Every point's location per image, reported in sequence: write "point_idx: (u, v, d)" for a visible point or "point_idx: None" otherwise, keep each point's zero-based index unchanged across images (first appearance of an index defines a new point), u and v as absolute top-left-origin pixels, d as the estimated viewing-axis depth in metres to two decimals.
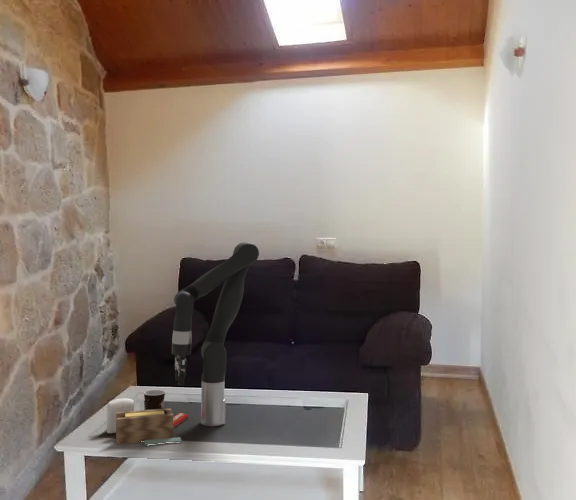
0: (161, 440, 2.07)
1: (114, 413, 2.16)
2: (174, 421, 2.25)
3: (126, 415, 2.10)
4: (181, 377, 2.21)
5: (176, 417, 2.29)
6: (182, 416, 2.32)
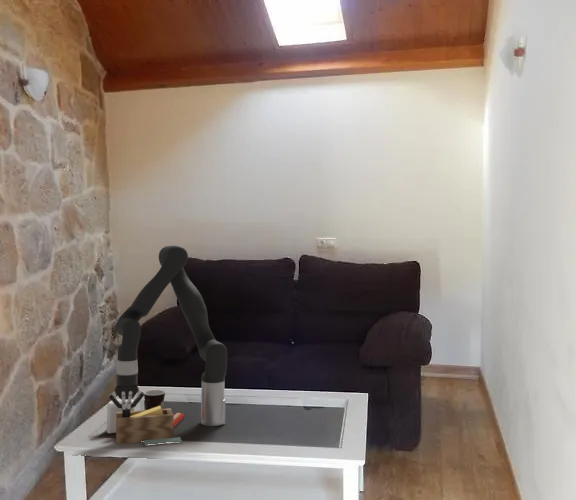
0: (161, 440, 2.07)
1: (114, 413, 2.16)
2: (174, 421, 2.25)
3: None
4: None
5: (174, 417, 2.29)
6: (180, 416, 2.32)
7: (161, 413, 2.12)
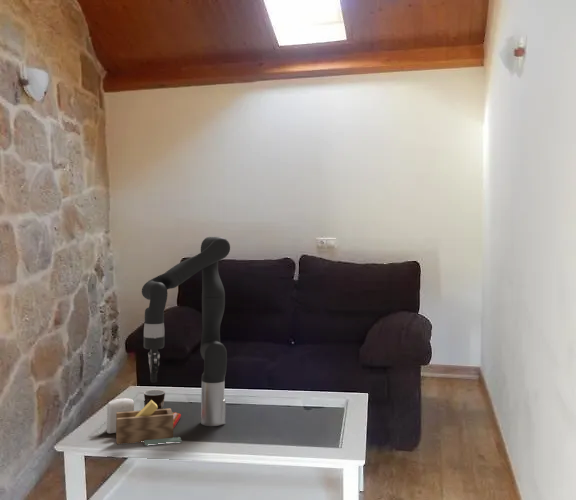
0: (161, 440, 2.07)
1: (114, 413, 2.16)
2: (174, 421, 2.25)
3: None
4: None
5: (173, 417, 2.29)
6: (177, 415, 2.32)
7: (154, 406, 2.11)
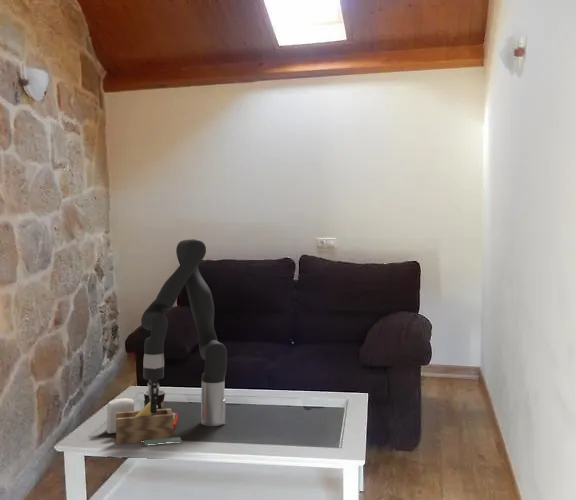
0: (161, 440, 2.07)
1: (114, 413, 2.16)
2: (174, 421, 2.25)
3: None
4: None
5: None
6: (176, 415, 2.32)
7: None
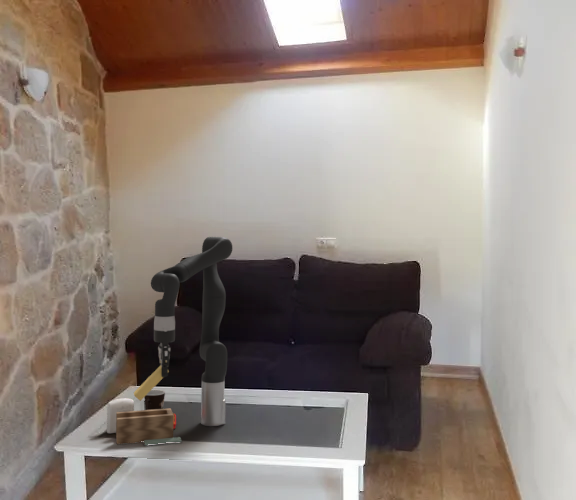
0: (161, 440, 2.07)
1: (114, 413, 2.16)
2: (174, 421, 2.25)
3: (134, 393, 2.04)
4: None
5: None
6: (174, 415, 2.32)
7: None
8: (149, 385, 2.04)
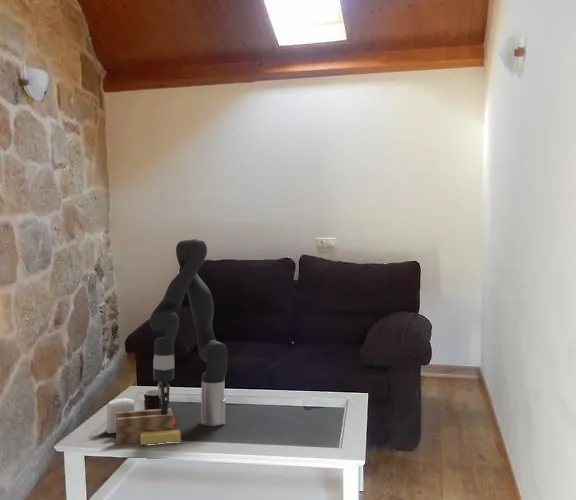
0: None
1: (114, 413, 2.16)
2: (173, 421, 2.25)
3: (141, 434, 2.04)
4: None
5: None
6: None
7: (179, 438, 2.07)
8: (157, 438, 2.05)
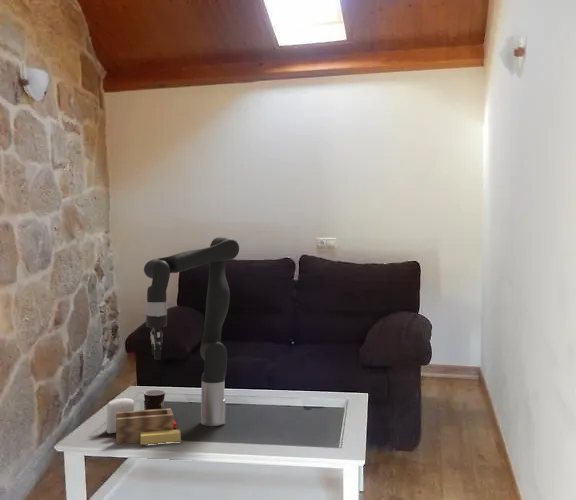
0: None
1: (114, 413, 2.16)
2: (173, 421, 2.26)
3: (141, 434, 2.04)
4: None
5: None
6: None
7: (179, 438, 2.07)
8: (157, 438, 2.05)
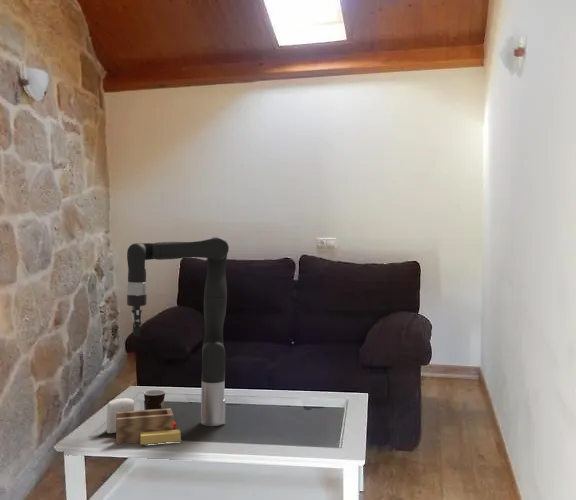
0: None
1: (114, 413, 2.16)
2: (173, 421, 2.26)
3: (141, 434, 2.04)
4: None
5: None
6: None
7: (179, 438, 2.07)
8: (157, 438, 2.05)
